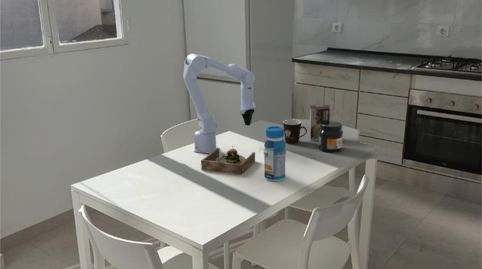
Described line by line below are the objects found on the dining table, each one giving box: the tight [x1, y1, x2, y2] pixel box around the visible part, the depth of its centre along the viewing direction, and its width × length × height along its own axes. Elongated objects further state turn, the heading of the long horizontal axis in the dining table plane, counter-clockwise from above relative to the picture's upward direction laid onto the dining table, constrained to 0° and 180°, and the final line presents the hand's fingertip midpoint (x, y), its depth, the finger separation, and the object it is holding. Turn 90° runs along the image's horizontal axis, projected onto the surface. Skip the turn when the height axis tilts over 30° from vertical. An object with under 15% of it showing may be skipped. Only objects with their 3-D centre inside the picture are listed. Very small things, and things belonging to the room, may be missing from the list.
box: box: [200, 148, 256, 176], centre depth 191 cm, size 18×16×4 cm
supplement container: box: [318, 120, 344, 153], centre depth 206 cm, size 10×10×12 cm
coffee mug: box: [282, 119, 308, 145], centre depth 215 cm, size 12×9×10 cm
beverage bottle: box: [263, 125, 287, 182], centre depth 175 cm, size 8×8×20 cm
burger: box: [217, 145, 247, 165], centre depth 194 cm, size 12×12×8 cm
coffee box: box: [309, 104, 331, 142], centre depth 220 cm, size 9×6×16 cm
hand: (247, 125), depth 214 cm, fingers closed
